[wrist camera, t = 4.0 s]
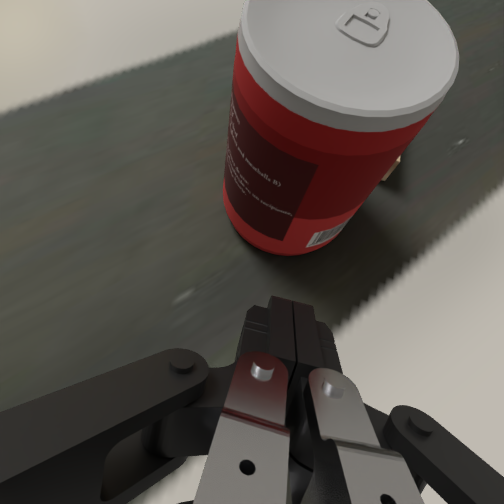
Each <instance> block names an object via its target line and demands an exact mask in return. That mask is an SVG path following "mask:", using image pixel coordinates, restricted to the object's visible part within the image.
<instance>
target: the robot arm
mask: <svg viewBox="0 0 504 504" xmlns="http://www.w3.org/2000/svg"><path fill="white" fill-rule="evenodd" d="M334 342H335V341H334V337H333V333H332V332H331V330H330V329H329V328H328V327H327V325H326V324H325V323H323V322H319V321H316V320H315V314H314V309H313V306H311V305H307V304H303V303H299V302H295V301H291V300H287V299H283V298H279V297H275V296H271V298H270V300H269V304H268V307H267V308H264V307H260V306H256V305H254V306H253V307H252V308H250V309H249V310H248V311H247V314H246V318H245V321H244V325H243V329H242V332H241V336H240V340H239V343H238V347H237V353H236V358H235V362H234V363H233V364H231V365H229V366H226V367H221V368H209V367H208V364H207V362H206V360H205V359H204V358H203V357H202V356H200V355H199V354H197V353H195V352H193V351H190V350H187V349H179V348H176V349H168V350H165V351H162V352H160V353H157V354H154V355H152V356H149V357H146V358H144V359H141V360H138V361H136V362H133V363H130V364H128V365H125V366H122V367H120V368H117V369H114V370H112V371H109V372H106V373H104V374H101V375H98V376H96V377H93V378H90V379H88V380H85V381H82V382H80V383H77V384H74V385H72V386H69V387H66V388H64V389H61V390H58V391H56V392H53V393H50V394H48V395H45V396H42V397H40V398H37V399H34V400H32V401H29V402H26V403H24V404H21V405H18V406H16V407H13V408H10V409H8V410H5V411H2V412H0V504H127V503H128V502H129V501H131V500H132V499H134V498H135V497H137V496H138V495H140V494H141V493H142V492H144V491H145V490H147V489H148V488H150V487H151V486H153V485H154V484H155V483H157V482H158V481H160V480H161V479H163V478H164V477H166V476H167V475H168V474H170V473H171V472H173V471H174V470H176V469H177V468H179V467H180V466H181V465H182V464H183V463H184V462H185V461H186V459H187V457H188V456H199V455H208V457H207V460H206V463H205V467H204V470H203V473H202V476H201V480H200V483H199V486H198V490H197V493H196V496H195V499H194V500H192V501H187V502H181V503H179V504H424V502H423V500H422V498H421V493H422V491H423V489H424V487H425V486H426V484H428V485H429V486H430V487H431V488H433V489H434V490H435V491H436V492H437V493H438V494H439V495H440V496H441V497H442V498H443V499H444V500H445V501H446V502H447V503H448V504H504V477H503V476H502V475H500V474H499V473H498V472H496V470H494V469H493V468H492V467H491V466H490V465H488V464H487V463H486V462H485V461H483V460H482V459H481V458H480V457H479V456H477V455H476V454H475V453H474V452H473V451H471V450H470V449H469V448H468V447H467V446H465V445H464V444H463V443H462V442H460V441H459V440H458V439H457V438H456V437H455V436H453V435H452V434H451V433H450V432H448V431H447V430H446V429H445V428H444V427H442V426H441V425H440V424H439V423H438V422H436V421H435V420H434V419H433V418H431V417H430V416H429V415H427V414H426V413H424V412H422V411H420V410H418V409H416V408H413V407H410V406H405V405H399V406H396V407H394V408H393V409H392V411H391V413H390V415H387V414H385V413H382V412H381V411H378V410H376V409H374V408H372V407H370V406H368V405H366V404H365V403H363V401H362V398H361V396H360V393H359V391H358V389H357V387H356V386H355V384H354V383H353V382H352V381H351V380H350V379H349V378H348V377H346V376H345V375H343V372H342V369H341V365H340V361H339V357H338V353H337V351H336V350H337V349H336V345H335V344H334Z"/></svg>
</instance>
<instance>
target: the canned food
mask: <svg viewBox="0 0 504 504" xmlns="http://www.w3.org/2000/svg"><path fill="white" fill-rule="evenodd" d="M458 66H459V52H458V47H457V43H456V40H455V37H454V35H453V33H452V31H451V29H450V27H449V25H448V24H447V22H446V21H445V20H444V18H443V17H442V15H441V14H440V13H439V12H438V11H437V10H436V9H435V8H434V7H433V6H432V5H431V4H430V3H429V2H428V1H427V0H245V2H244V5H243V10H242V15H241V19H240V24H239V29H238V34H237V45H236V55H235V61H234V70H233V82H232V93H231V105H230V116H229V127H228V139H227V150H226V162H225V173H224V184H223V199H224V205H225V208H226V212H227V214H228V216H229V218H230V220H231V222H232V224H233V226H234V227H235V229H236V230H237V231H238V233H239V234H240V235H241V236H242V237H243V238H244V239H245V240H246V241H248V242H249V243H250V244H251V245H253V246H255V247H257V248H259V249H260V250H262V251H265V252H268V253H272V254H275V255H284V256H293V255H301V254H305V253H308V252H312V251H314V250H317V249H319V248H321V247H323V246H325V245H326V244H328V243H329V242H330V241H332V240H333V239H334V238H335V237H336V236H337V235H338V234H339V233H340V231H341V230H342V229H343V228H344V226H345V225H346V224H347V223H348V221H349V220H350V219H351V217H352V216H353V215H354V214H355V212H356V211H357V210H358V209H359V207H360V206H361V205H362V203H363V202H364V201H365V200H366V198H367V197H368V196H369V195H370V193H371V192H372V191H373V189H374V188H375V187H376V186H377V184H378V183H379V182H380V181H381V179H382V178H383V177H384V175H385V174H386V173H387V172H388V170H389V169H390V168H391V167H392V165H393V164H394V163H395V161H396V160H397V159H398V158H399V156H400V155H401V154H402V153H403V151H404V150H405V149H406V147H407V146H408V145H409V144H410V142H411V141H412V140H413V139H414V137H415V136H416V135H417V133H418V132H419V131H420V130H421V128H422V127H423V126H424V125H425V123H426V122H427V120H428V119H429V117H430V116H431V115H432V113H433V112H434V111H435V109H436V108H437V107H438V106H439V104H440V103H441V102H442V100H443V99H444V97H445V95H446V93H447V91H448V90H449V88H450V87H451V86H452V84H453V82H454V80H455V77H456V75H457V72H458Z"/></svg>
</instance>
